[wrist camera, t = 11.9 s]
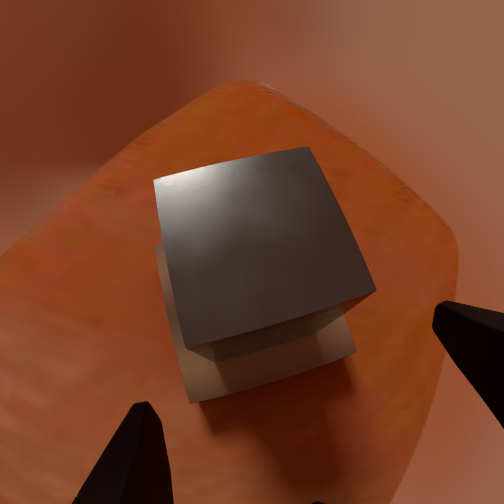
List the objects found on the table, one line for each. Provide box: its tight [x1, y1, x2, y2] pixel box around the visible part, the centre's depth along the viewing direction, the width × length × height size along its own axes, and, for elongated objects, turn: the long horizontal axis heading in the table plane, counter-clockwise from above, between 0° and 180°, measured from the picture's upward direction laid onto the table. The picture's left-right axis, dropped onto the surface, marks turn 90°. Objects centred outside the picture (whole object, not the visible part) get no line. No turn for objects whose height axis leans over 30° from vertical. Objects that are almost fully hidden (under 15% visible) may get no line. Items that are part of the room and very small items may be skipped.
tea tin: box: [154, 147, 376, 363], centre depth 15 cm, size 7×7×10 cm
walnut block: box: [154, 243, 357, 404], centre depth 21 cm, size 11×11×3 cm
